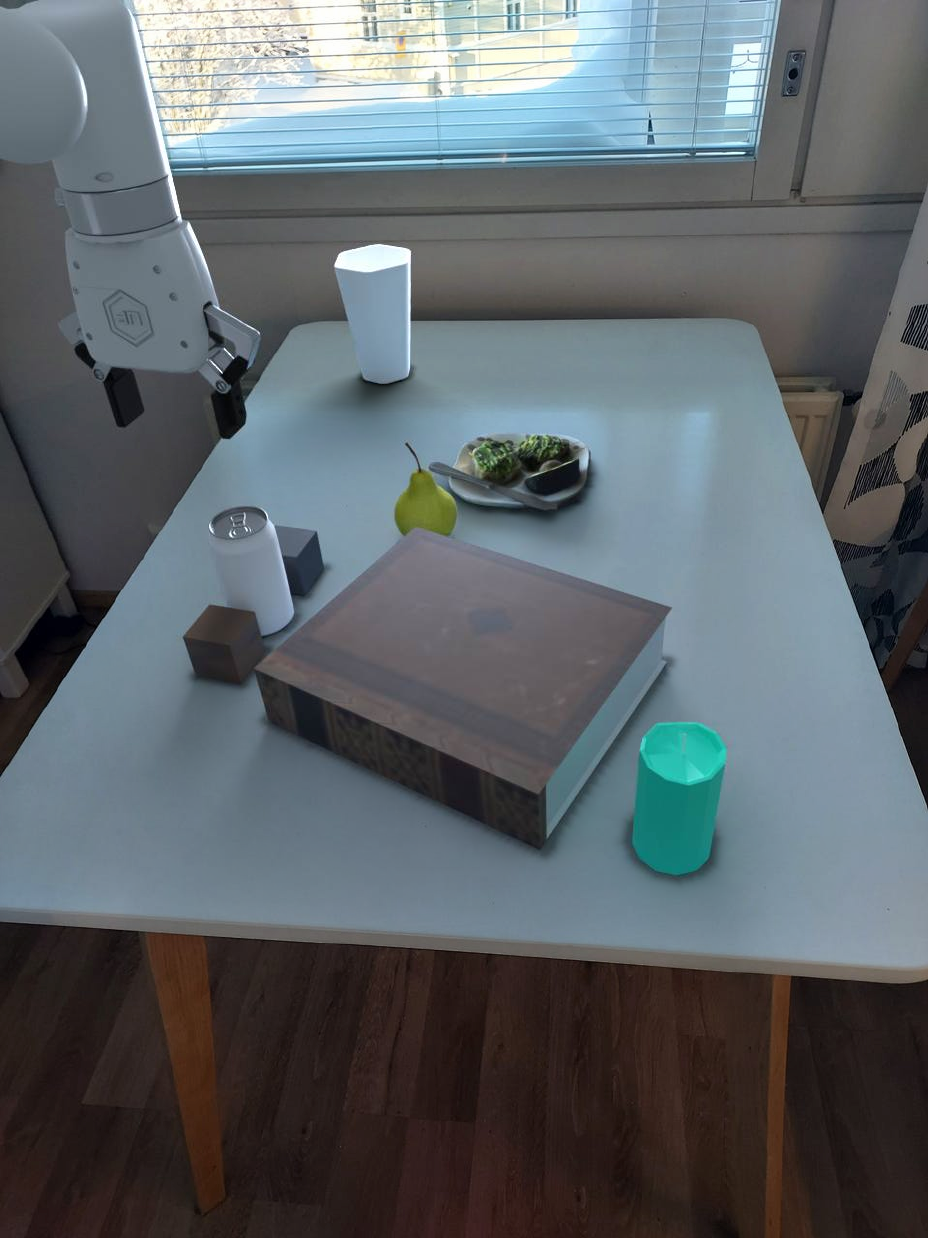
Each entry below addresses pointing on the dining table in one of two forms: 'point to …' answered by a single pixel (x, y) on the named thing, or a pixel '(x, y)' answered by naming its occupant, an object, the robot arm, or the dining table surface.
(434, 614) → the book
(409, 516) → the fruit
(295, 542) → the block far
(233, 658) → the block near
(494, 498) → the salad plate
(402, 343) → the cup
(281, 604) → the can
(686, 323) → the dining table surface
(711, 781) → the candle
